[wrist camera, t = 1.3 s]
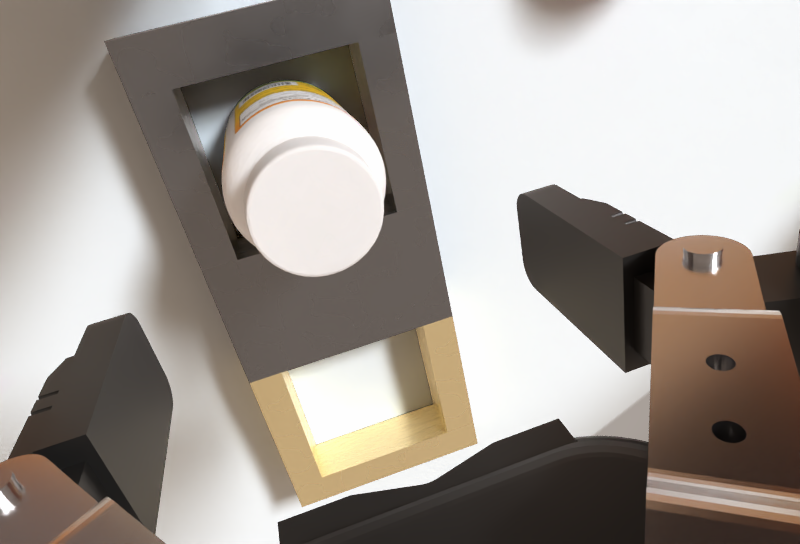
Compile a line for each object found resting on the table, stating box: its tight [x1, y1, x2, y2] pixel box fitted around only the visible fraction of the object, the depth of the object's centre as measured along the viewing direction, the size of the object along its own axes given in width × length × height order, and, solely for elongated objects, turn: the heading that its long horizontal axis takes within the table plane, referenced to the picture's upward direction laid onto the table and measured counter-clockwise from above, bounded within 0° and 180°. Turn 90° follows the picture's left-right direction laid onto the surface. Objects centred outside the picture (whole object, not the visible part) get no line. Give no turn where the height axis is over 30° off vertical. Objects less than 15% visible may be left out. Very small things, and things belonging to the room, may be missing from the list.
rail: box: [104, 0, 477, 507], centre depth 27 cm, size 10×24×2 cm, turn 12°
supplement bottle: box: [222, 80, 386, 277], centre depth 21 cm, size 5×5×10 cm
